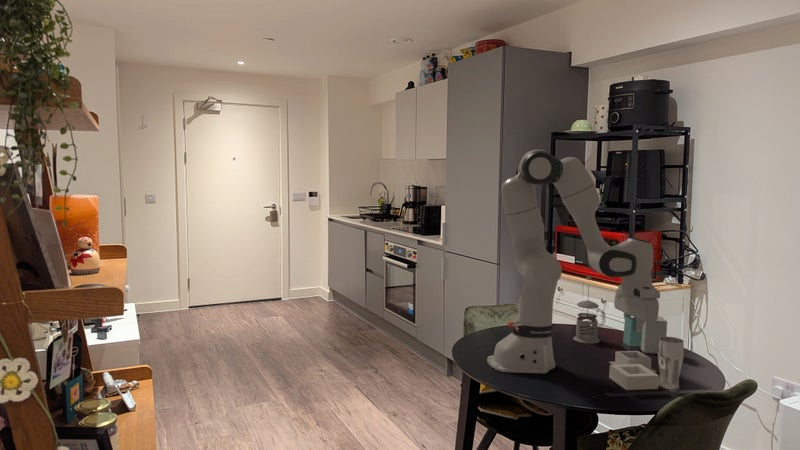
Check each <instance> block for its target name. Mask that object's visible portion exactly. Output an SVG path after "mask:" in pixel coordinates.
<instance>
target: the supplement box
mask: <svg viewBox="0 0 800 450" xmlns="http://www.w3.org/2000/svg"><path fill="white" fill-rule="evenodd" d="M667 330H668V321H667V320H666V319H665V318H664V317H663V316H658V319H657V321H656V322H655V323H644V324H643V328H642V341H641V350H640V351H642V353H643V354H644V353H645V354H655V355H656V354H657V355H658V345H659V338H660V337H667V332H668V331H667Z"/></svg>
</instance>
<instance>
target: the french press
mask: <svg viewBox="0 0 800 450" xmlns="http://www.w3.org/2000/svg"><path fill="white" fill-rule="evenodd" d="M586 280H588V281H590V280H592V276H586ZM587 290H588V291H587V298H589V297H590V295H589V293H590V285H588V289H587ZM576 305H577V307H579V308H583V309H587V311H586V312H579V313H577V317H576V323H575V324H576V326H575V336H574V337H573V340H574V341H576V342H578V343H581V344H582V343H583V344H598V343H600V339H599V338H598V334H599V331H598V330H599V329H600V328H601V327H603V326H604V325H605V322H606V319H605V317H606V314H605V312H604V311H603V310H602V309H600V308H599V304H597V303H596V302H594V301H592V300H589V299H587V300H582V301H580V302H579V301H578V303H576ZM590 309H591V310H592V309H594V310H595V309H596V310H597V311H596V313H599V311H600V312H601V314H602V319H603V320H602V321H601V323H600V324H598V323H599V322H598V321H599V320H598V319H597V317H598V315H596V314H594V313H589V310H590Z"/></svg>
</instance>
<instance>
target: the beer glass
mask: <svg viewBox="0 0 800 450" xmlns="http://www.w3.org/2000/svg"><path fill="white" fill-rule="evenodd" d="M684 346H685V344H684V340H683V339H682V338H679V337H673V336H666V337H660V338H659V345H658V354H657V362H658V369H659V371H658V372H659V383H658V387H660V388H662V389H666V390H664V392H669V393H677V392H680V380H679V379H680V373H681V371H682V366H683V363H684V362H683V361H684V357H685V356H684V354H685V352H684V350H685V347H684Z"/></svg>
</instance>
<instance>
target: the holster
mask: <svg viewBox="0 0 800 450" xmlns="http://www.w3.org/2000/svg"><path fill="white" fill-rule="evenodd" d="M614 354H615V355H614V356H615V359H614V361H608V363H610V365H625V364H641V365H642V366H644V367H646V368H647V369H649V370H651V371H652V372H654V373H658V371H657V370H656V369H653V368H652V358H651V357H650V356H648V355H646V354H644V353H643V352H640V350H638V351H629V350H625V351H624V350H622V351H615V353H614Z"/></svg>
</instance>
